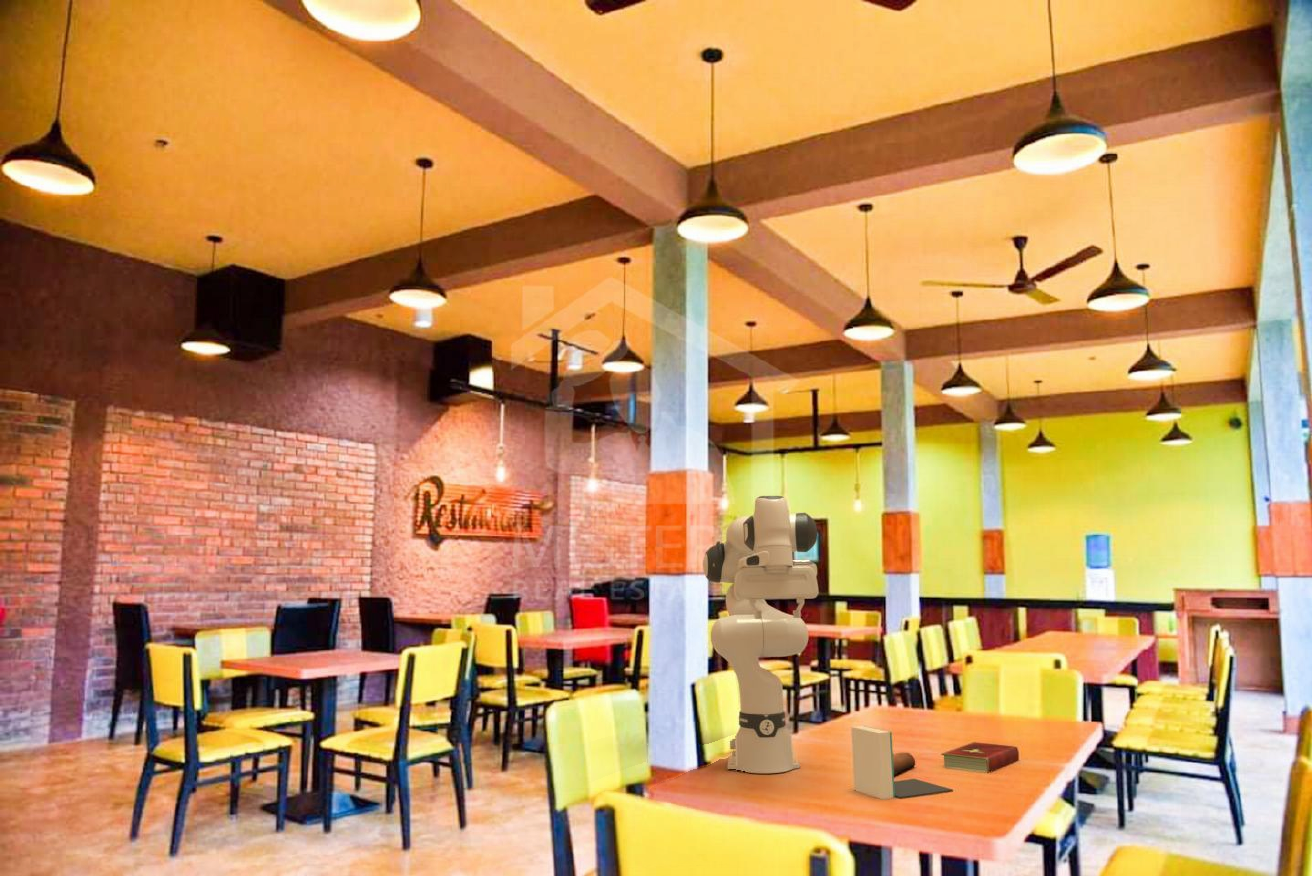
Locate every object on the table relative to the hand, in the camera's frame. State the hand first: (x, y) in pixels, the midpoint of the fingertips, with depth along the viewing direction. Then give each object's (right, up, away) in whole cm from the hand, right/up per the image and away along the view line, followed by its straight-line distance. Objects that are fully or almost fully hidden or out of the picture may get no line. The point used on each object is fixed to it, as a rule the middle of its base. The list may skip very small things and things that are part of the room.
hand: (777, 618), depth 216 cm
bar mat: (+29, -38, -8) cm, 48 cm away
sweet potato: (+29, -41, +11) cm, 52 cm away
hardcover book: (+56, -42, +19) cm, 72 cm away
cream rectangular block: (+20, -37, -12) cm, 44 cm away
